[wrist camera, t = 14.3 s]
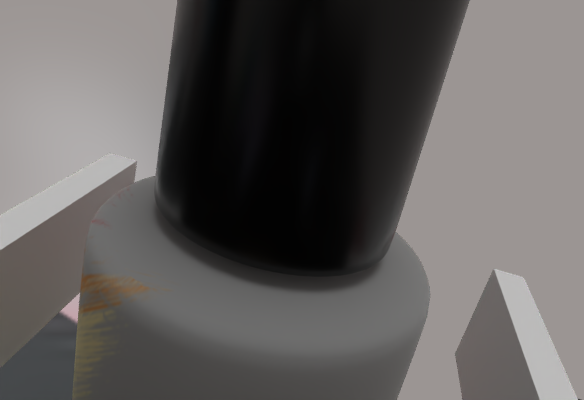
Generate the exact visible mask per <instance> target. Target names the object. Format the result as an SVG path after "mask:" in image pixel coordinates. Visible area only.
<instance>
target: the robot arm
mask: <svg viewBox="0 0 584 400" xmlns="http://www.w3.org/2000/svg"><path fill="white" fill-rule="evenodd" d="M136 165H137V161H135V160H132V159H129V158H125V157H122V156H119V155H115V154H112V153H110V154H108V155H106V156H104V157H102V158H100V159H99V160H97V161H95V162H93V163H91V164H90V165H88V166H86V167H84V168H83V169H81V170H79V171H77V172H75V173H74V174H72V175H70V176H68V177H67V178H65V179H63V180H61V181H60V182H58V183H56V184H54V185H52V186H51V187H49V188H47V189H45V190H43V191H42V192H40V193H38V194H36V195H35V196H33V197H31V198H29V199H27V200H26V201H24V202H22V203H20V204H19V205H17V206H15V207H13V208H12V209H10V210H8V211H6V212H4V213H3V214H1V215H0V368H1V367H2V366H3V365H4V364H5V363H6V362H7V361H8V360H9V359H10V358H11V357H12V356H13V355H14V354H15V353H16V352H18V351H19V350H20V349H21V348H22V347H23V346H24V345H25V344H26V343H27V342H28V341H29V340H30V339H31V338H32V337H33V336H34V335H35V334H37V333H38V332H39V331H40V330H41V329H42V328H43V327H44V326H45V325H46V324H47V323H48V322H49V321H50V320H51V319H52V318H53V317H54V316H55V315H57V314H58V313H59V312H60V311H61V310H62V309H63V308H64V307H65V306H66V305H67V304H68V303H69V302H70V301H71V300H72V299H73V298H74V297H76V295H78V294H79V293H80V289H81V278H82V267H83V259H84V251H85V243H86V238H87V234H88V231H89V228H90V225H91V222H92V219H93V217H94V216H95V214H96V212H97V211H98V210H99V208H100V207H101V206H102V205H103V204H104V203H105V202H106V201H107V200H108V199H109V198H111V197H112V196H113V195H114V194H115V193H117V192H118V191H120V190H121V189H123V188H125V187H127V186H128V185H130V184H133V183H134V180H135V171H136ZM455 356H456V362H457V367H458V374H459V380H460V387H461V393H462V399H463V400H580V399H577V397H576V394H575V392H574V390H573V388H572V385H571V383H570V381H569V379H568V376H567V374H566V372H565V369H564V367H563V365H562V363H561V360H560V358H559V356H558V354H557V351H556V349H555V347H554V345H553V342H552V340H551V338H550V336H549V333H548V331H547V329H546V327H545V324H544V322H543V320H542V317H541V315H540V313H539V311H538V309H537V306H536V304H535V302H534V300H533V297H532V295H531V293H530V291H529V288H528V286H527V284H526V281H525V279H524V278H523V277H521V276H517V275H514V274H511V273H507V272H504V271H501V270H497V269H493V272H492V274H491V276H490V278H489V281H488V282H487V285H486V287H485V289H484V291H483V293H482V296H481V298H480V300H479V302H478V304H477V307H476V309H475V311H474V313H473V315H472V318H471V320H470V322H469V324H468V327H467V329H466V331H465V333H464V335H463V337H462V340H461V342H460V344H459V346H458V348H457V351H456V353H455Z"/></svg>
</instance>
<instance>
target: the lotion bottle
mask: <svg viewBox="0 0 584 400" xmlns="http://www.w3.org/2000/svg"><path fill="white" fill-rule="evenodd" d="M469 1H470V0H177V8H176V16H175V25H174V32H173V40H172V49H171V56H170V64H169V72H168V80H167V88H166V96H165V105H164V112H163V120H162V128H161V137H160V144H159V152H158V161H157V168H156V176H153V177H149V178H146V179H143V180H140V181H138V182H135V183H133V184H130V185H128V186H127V187H125V188H123V189H121V190H120V191H118V192H117V193H115V194H114V195H113V196H112V197H111V198H109V199H108V200H107V201H106V202H105V203H104V204H103V205H102V206H101V207H100V208H99V210H98V211H97V212H96V214H95V216H94V217H93V219H92V222H91V225H90V228H89V231H88V234H87V238H86V243H85V251H84V259H83V267H82V278H81V289H80V301H79V313H78V326H77V339H76V353H75V367H74V382H73V396H72V400H397V397H398V395H399V392H400V390H401V387H402V384H403V382H404V379H405V377H406V374H407V371H408V369H409V366H410V363H411V360H412V358H413V355H414V352H415V350H416V347H417V344H418V341H419V339H420V336H421V333H422V330H423V327H424V324H425V321H426V318H427V313H428V306H429V300H430V287H429V282H428V278H427V276H426V273H425V270H424V268H423V265H422V263H421V261H420V259H419V258H418V256H417V255H416V253H415V252H414V250H413V249H412V248H411V247H410V245H409V244H408V243H407V242H406V241H405V240H404V239H403V238H402V237H401V236H400V235H399V234H398V233H397V232H396V228H397V225H398V222H399V219H400V216H401V212H402V210H403V207H404V203H405V200H406V197H407V194H408V191H409V188H410V185H411V181H412V178H413V175H414V172H415V169H416V166H417V163H418V160H419V157H420V153H421V150H422V147H423V144H424V141H425V138H426V135H427V132H428V128H429V125H430V122H431V119H432V116H433V113H434V110H435V107H436V103H437V101H438V97H439V94H440V91H441V88H442V85H443V82H444V79H445V76H446V72H447V69H448V66H449V63H450V60H451V57H452V54H453V51H454V48H455V44H456V41H457V38H458V35H459V32H460V29H461V25H462V23H463V19H464V16H465V13H466V10H467V7H468V4H469Z"/></svg>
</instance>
